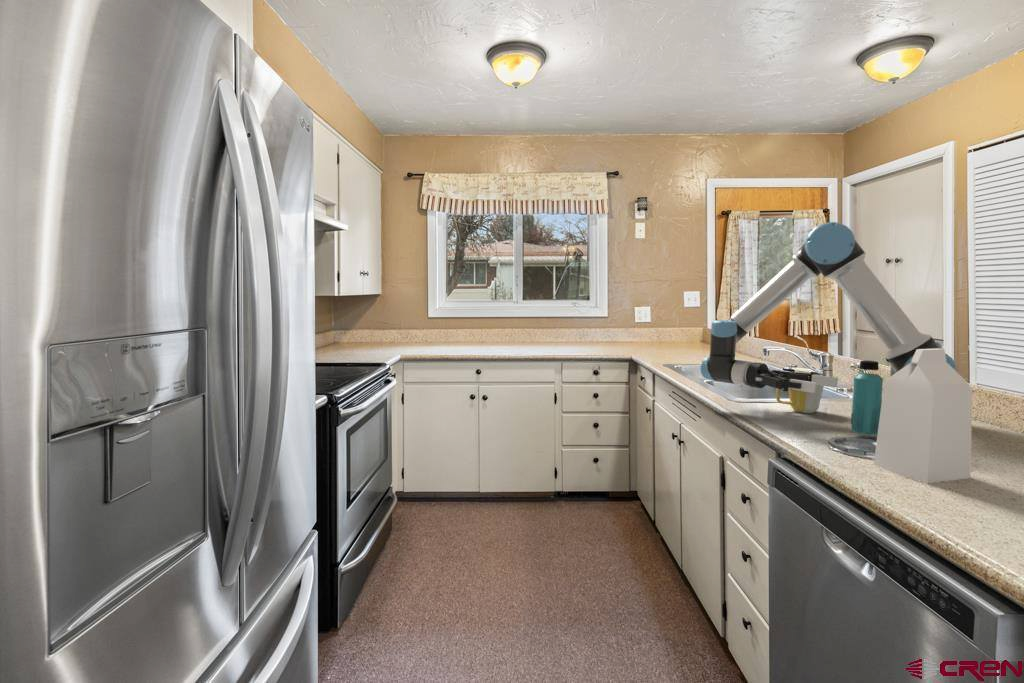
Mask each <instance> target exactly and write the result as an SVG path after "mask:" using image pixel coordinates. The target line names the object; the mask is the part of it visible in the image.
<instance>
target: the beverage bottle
mask: <svg viewBox="0 0 1024 683" xmlns="http://www.w3.org/2000/svg"><path fill="white" fill-rule="evenodd" d="M858 368H859V369H860V370H866V371H878V370H879V368H880V367H879V362H878V361H876V360H860V362H859V367H858ZM883 382H884V378H882V376H881V375H879V374H877V373H871V372H870V373H868V372H859V373H857V374H856V375H855V376H854V377H853V392H852V393H853V394H852V403H851V406H852V407H851V417H850V420H851V421H850V428H851V431H852V432H854V433H857V434H861V435H868V436H869V435H870V436H872V435H873V436H874V435H875V436H876V435H878V427H879V419H880V412H881V404H882V397H883Z"/></svg>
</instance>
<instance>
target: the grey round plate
mask: <svg viewBox="0 0 1024 683" xmlns="http://www.w3.org/2000/svg"><path fill="white" fill-rule="evenodd" d="M876 442H877V439H876V440H875V439H870V438H865V437H857V436H856V437H855V436H835V437H831V438H829V439H828V440H827V444H826V445H827V448H828V447H829V448H828V449H830V450H831V449H832V451H834V452H836V451H837V452H836V453H839V452H840V454H842V453H843V455H846V454H847V456H850V455H852V457H855V456H858V458H862V457H865V458H864V459H870V458H875V450H876Z"/></svg>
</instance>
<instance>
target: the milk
mask: <svg viewBox="0 0 1024 683" xmlns="http://www.w3.org/2000/svg"><path fill="white" fill-rule="evenodd" d="M945 354H946V351H945V348H942V349H938V348H936V349H917V350H916V352H915V354H914V356H913V358H912V361H911V363H909V364H908V365H906V366H905V367H904V368H902V369H901V370H899V371H898V372H896V373H895V374H894V375H892V376H891V377H890V376H889V377H888V378H887V379H886V381H885V382H884V385H883V388H882V404H881V412H880V419H879V427H878V434H877V437H876V440H877V442H876V450H875V458H874V459H873V466H874V465H876V466H875V467H877V466H879V467H878V468H880V467H881V468H880V469H883V468H884V469H883V470H886V469H887V470H886V471H888V470H889V472H891V471H892V473H894V472H895V474H897V473H898V474H897V475H900V474H901V475H900V476H903V475H904V477H906V476H908V477H907V478H909V477H910V478H909V479H912V478H913V479H912V480H915V479H916V480H915V481H918V480H920V481H919V482H921V481H922V482H921V483H923V482H925V483H924V484H926V483H929V484H934V483H933V482H936V483H942V482H941V481H944V482H950V481H949V480H951V481H957V480H958V479H959V480H965V479H971V476H972V427H973V426H972V424H973V423H972V417H973V416H972V415H973V414H972V412H973V392H972V391H973V390H972V386H970V384H969V382H968V381H966V380H965V379H964V377H963V376H962V375H960V374H959V372H958V371H957V372H956V371H955V370H954V369H953V368H952V367H951V366H950V365H949V364H948V363H947V362H946V356H945ZM959 480H958V481H959Z"/></svg>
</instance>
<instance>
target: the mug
mask: <svg viewBox="0 0 1024 683" xmlns="http://www.w3.org/2000/svg"><path fill="white" fill-rule="evenodd" d="M824 387H825V386H822V385H816V391H815V393H811V392H805V391H798V390H792V389H789V387H788V393H789V401H786V400H785V401H783V400H781V399H780V390H781V389H778V388H775V390H776V391H775V399H776V402H778V403H779V404H783V405H790V407H791V408H792V409H793V410H794V412H797V413H800V414H801V413H802V414H814V413H816V411H818V410H819V408H820V405H821V401H822V395H823V391H824Z"/></svg>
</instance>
